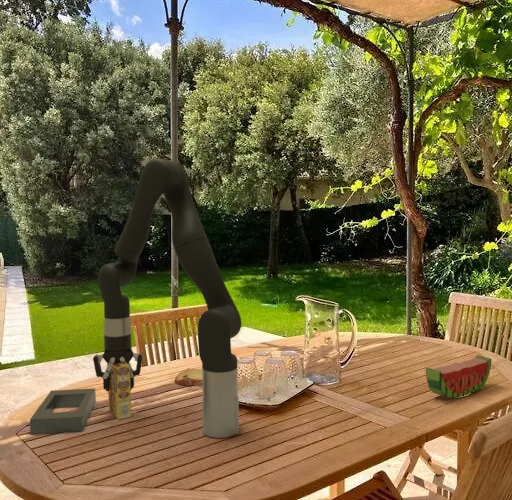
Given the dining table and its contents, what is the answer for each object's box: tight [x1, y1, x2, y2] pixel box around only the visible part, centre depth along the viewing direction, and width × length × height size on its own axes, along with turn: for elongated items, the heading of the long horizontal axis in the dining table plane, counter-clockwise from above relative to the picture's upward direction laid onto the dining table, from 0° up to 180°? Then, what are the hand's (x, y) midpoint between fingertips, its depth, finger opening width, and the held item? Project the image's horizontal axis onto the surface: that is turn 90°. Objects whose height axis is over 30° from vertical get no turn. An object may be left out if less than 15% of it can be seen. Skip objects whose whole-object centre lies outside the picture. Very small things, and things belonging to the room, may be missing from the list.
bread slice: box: [173, 368, 203, 388], centre depth 181 cm, size 18×18×4 cm
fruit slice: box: [425, 355, 492, 399], centre depth 165 cm, size 26×6×10 cm, turn 123°
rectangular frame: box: [29, 388, 97, 435], centre depth 149 cm, size 13×22×4 cm, turn 8°
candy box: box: [106, 362, 133, 421], centre depth 150 cm, size 9×4×15 cm, turn 33°
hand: (119, 389), depth 150 cm, fingers open, 5 cm apart
